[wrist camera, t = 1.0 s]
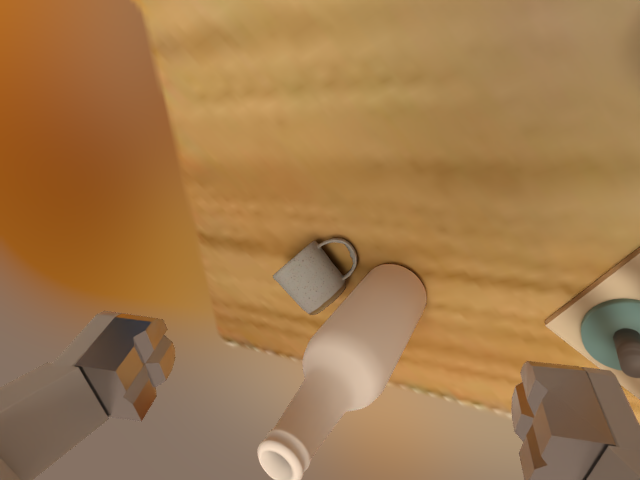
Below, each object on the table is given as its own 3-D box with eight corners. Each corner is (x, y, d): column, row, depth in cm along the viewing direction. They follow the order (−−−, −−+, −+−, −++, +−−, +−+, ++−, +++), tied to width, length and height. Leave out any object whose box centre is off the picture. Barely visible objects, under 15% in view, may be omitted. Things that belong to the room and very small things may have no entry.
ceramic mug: (325, 302, 62) (300, 327, 55) (290, 260, 62) (262, 281, 56) (373, 265, 56) (353, 289, 50) (335, 220, 56) (309, 238, 50)
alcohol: (420, 328, 56) (322, 532, 31) (361, 307, 59) (229, 475, 34) (434, 273, 52) (336, 453, 27) (370, 253, 55) (230, 398, 31)
